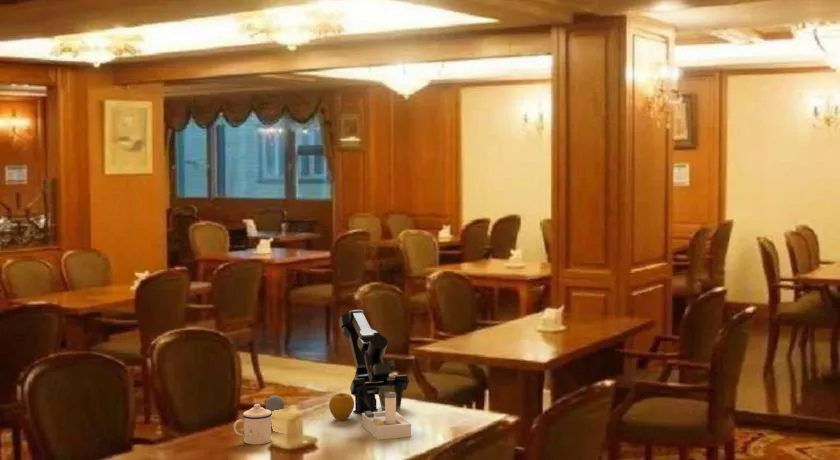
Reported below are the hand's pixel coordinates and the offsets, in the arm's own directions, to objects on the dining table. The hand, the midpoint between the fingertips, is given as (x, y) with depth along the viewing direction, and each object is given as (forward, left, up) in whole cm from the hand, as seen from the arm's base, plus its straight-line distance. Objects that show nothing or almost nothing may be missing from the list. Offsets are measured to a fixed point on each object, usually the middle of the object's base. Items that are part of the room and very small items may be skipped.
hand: (384, 406), depth 357 cm
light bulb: (-36, -10, -8) cm, 38 cm away
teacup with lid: (-31, -29, -8) cm, 43 cm away
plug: (+5, -5, -7) cm, 10 cm away
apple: (-20, +6, -8) cm, 22 cm away
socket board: (+1, -1, -7) cm, 8 cm away
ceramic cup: (-12, +26, -8) cm, 29 cm away
